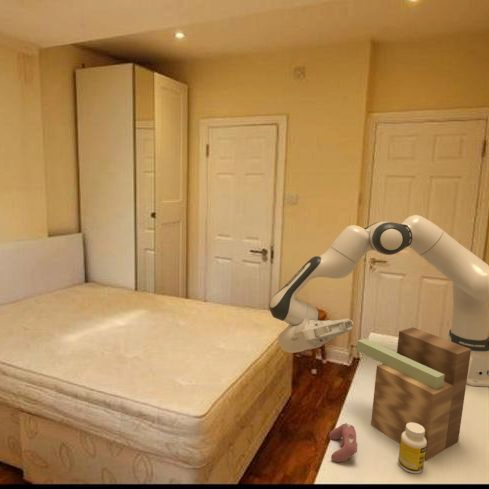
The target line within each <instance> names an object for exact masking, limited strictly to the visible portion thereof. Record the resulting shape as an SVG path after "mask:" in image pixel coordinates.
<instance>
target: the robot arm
mask: <svg viewBox="0 0 489 489" xmlns="http://www.w3.org/2000/svg"><path fill="white" fill-rule="evenodd" d="M407 247H408V248H410V249H411V250H412V251H414V252H415V253H416V254H417V255H419V256H420V257H421V258H423V259H424V260H425V261H426V262H427V263H429V265H431V266H433V268H435V269H436V270H437V271H438V272H440V273H441V275H444V276H445V278H447V279H448V280H450V281H451V282H452V300H453V301H452V304H453V305H452V306H453V308H452V320H451V328H450V329H449V332H448V336H447V340H448V341H451V342H453V343H456V344H459V345H461V346H464V347H467V348H469V349H471V354H470V361H469V368H468V375H467V382H466V385H469V386H472V387H489V264H488V263H486V262H485V261H484V260H482V259H481V258H480V257H479V256H477V255H476V254H474V253H473V252H471V250H469V249H468V248H466V247H465V246H463V244H461V243H459V242H458V241H457V240H456V239H455V238H453V237H452V236H451V235H450V234H448V233H447V232H446V231H445V230H444V229H443V228H441V227H440V226H438V225H437V224H436V223H434V222H432V221H431V220H429V219H428V218H425V216H424V217H423V216H422V215H418V214H413V215H410V216H408V217H406V218H405V220H403V221H402V222H401V223H398V222H392V221H387V220H386V221H378V222H374V223H372V224H370V225H368V226H367V227H365V228H363V227H362V226H359V225H354V224H351V225H348V226H346V227H345V228H344V229H343V230H342V231H341V232H340V233H339V235H337V237H336V238H335V239H334V241H333V242H332V243H331V245H330V246H329V247H328V249H327V250H326V251H325V252H323V253H322V254H320V255H317V256H316V255H315V256H313V257H311V258H310V259H309V260H308V261H307V262H306V263H304V265H303V266H302V267H301V268H300V269H299V270H298V271H297V272H296V273H295V274H294V275H293V277H292V278H291V279H290V280H289V281H287V283H286V284H285V285H284V286H283V287H282V288H280V289H279V290H278V291H277V292H276V293H274V295H273V296H272V297H271V299H270V301H269V303H268V306H269V311H270V313H271V316H272V318H275V320H276V319H277V320H279V321H283V322H284V323H286V324H288V327H287V328H285V329H284V330H282V331H281V332H279V334H278V336H277V342H278V345H279V347H280V348H281V349H282V350H283V351H284V352H286V353H290V354H291V353H292V354H293V353H301V352H304V351H306V350H313V349H317V348H320V347H322V346H324V345H325V344H327V343H328V342H331V341H333V340H336V339H337V337H340V336H342V335H343V334H347V333H348V332H351V331H353V329H354V325H355V324H354V321H353V320H351V319H350V318H343V319H336V320H331V319H326V320H321V319H320V314H319V313H320V311H319V310H318V308H317V307H315V306H314V305H313V304H310V303H309V302H307V301H304V300H303V299H301V298H299V297H297V295H298V294H299V293H300V292H301V291H302V290H303V289H304V288H305V287H306V285H308V283H309V282H310V281H312V280H314V279H316V278H317V279H318V278H329V279H334V280H335V279H343V278H346V277H348V276H349V275H350V274H352V273H353V271H354V270H355V269H356V268H357V265H358V264H359V263H360V262H361V259H362V258H363V257H364V255H366V253H368V252H370V251H375V252H376V253H379V254H383V255H386V256H390V255H391V256H392V255H395V254H398V253H400V252H402V251H403V250H405V249H406V248H407Z"/></svg>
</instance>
